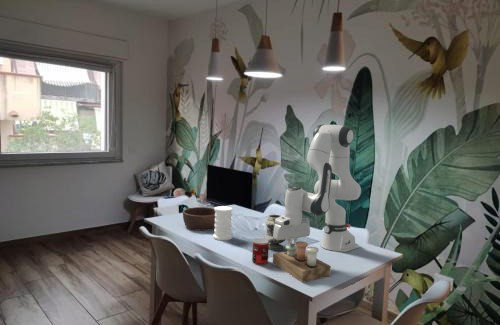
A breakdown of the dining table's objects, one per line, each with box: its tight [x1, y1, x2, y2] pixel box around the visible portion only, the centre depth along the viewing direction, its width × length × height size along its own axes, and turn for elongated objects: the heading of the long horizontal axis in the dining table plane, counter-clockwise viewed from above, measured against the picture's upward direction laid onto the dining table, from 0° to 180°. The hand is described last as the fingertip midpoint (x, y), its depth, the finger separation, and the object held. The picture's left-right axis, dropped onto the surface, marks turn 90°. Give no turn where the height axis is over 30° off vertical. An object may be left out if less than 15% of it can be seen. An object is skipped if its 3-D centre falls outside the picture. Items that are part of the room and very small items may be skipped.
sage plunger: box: [285, 244, 297, 256], centre depth 179 cm, size 6×6×8 cm
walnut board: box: [272, 250, 332, 283], centre depth 172 cm, size 16×24×5 cm, turn 29°
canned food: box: [251, 238, 270, 266], centre depth 179 cm, size 8×8×11 cm
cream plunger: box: [306, 246, 319, 266], centre depth 164 cm, size 6×6×8 cm
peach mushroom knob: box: [295, 240, 309, 260], centre depth 171 cm, size 6×6×8 cm
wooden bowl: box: [182, 206, 215, 231], centre depth 238 cm, size 25×25×10 cm
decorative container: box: [212, 205, 233, 242], centre depth 216 cm, size 12×12×18 cm
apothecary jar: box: [263, 214, 287, 251], centre depth 202 cm, size 12×12×18 cm
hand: (291, 246), depth 178 cm, fingers closed, pressing on sage plunger
